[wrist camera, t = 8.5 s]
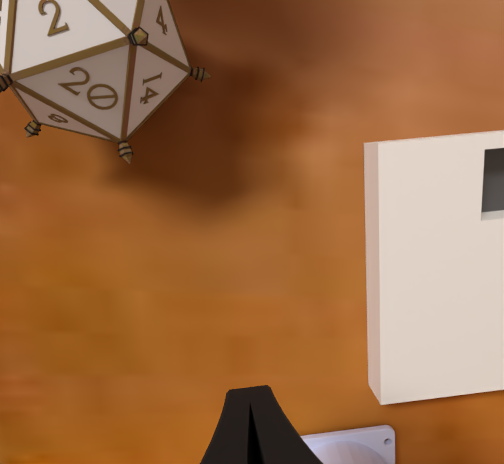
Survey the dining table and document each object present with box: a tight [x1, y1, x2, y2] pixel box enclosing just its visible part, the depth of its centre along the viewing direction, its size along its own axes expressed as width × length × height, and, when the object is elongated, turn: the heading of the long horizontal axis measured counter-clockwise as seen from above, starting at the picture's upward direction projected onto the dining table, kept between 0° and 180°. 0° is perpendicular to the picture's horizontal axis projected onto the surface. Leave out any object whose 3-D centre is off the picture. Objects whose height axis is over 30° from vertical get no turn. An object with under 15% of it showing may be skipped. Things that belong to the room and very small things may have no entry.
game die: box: [0, 0, 211, 164], centre depth 15 cm, size 9×8×10 cm
